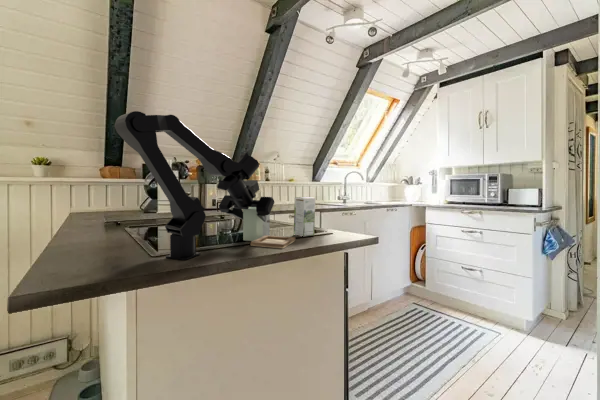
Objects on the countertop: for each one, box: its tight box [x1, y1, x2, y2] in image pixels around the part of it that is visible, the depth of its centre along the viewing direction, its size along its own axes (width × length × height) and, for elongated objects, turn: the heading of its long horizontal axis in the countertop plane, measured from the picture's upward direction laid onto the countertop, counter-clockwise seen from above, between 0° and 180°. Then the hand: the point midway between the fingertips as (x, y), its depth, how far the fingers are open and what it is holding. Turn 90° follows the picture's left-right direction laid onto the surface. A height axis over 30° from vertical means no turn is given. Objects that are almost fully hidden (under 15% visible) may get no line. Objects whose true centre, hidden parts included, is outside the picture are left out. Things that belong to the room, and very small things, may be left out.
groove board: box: [250, 235, 296, 249], centre depth 98 cm, size 12×11×1 cm
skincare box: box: [263, 214, 271, 236], centre depth 110 cm, size 6×4×12 cm
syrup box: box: [293, 196, 316, 238], centre depth 112 cm, size 6×6×14 cm
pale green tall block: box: [242, 207, 263, 242], centre depth 103 cm, size 5×5×11 cm
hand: (255, 220), depth 105 cm, fingers open, 8 cm apart
